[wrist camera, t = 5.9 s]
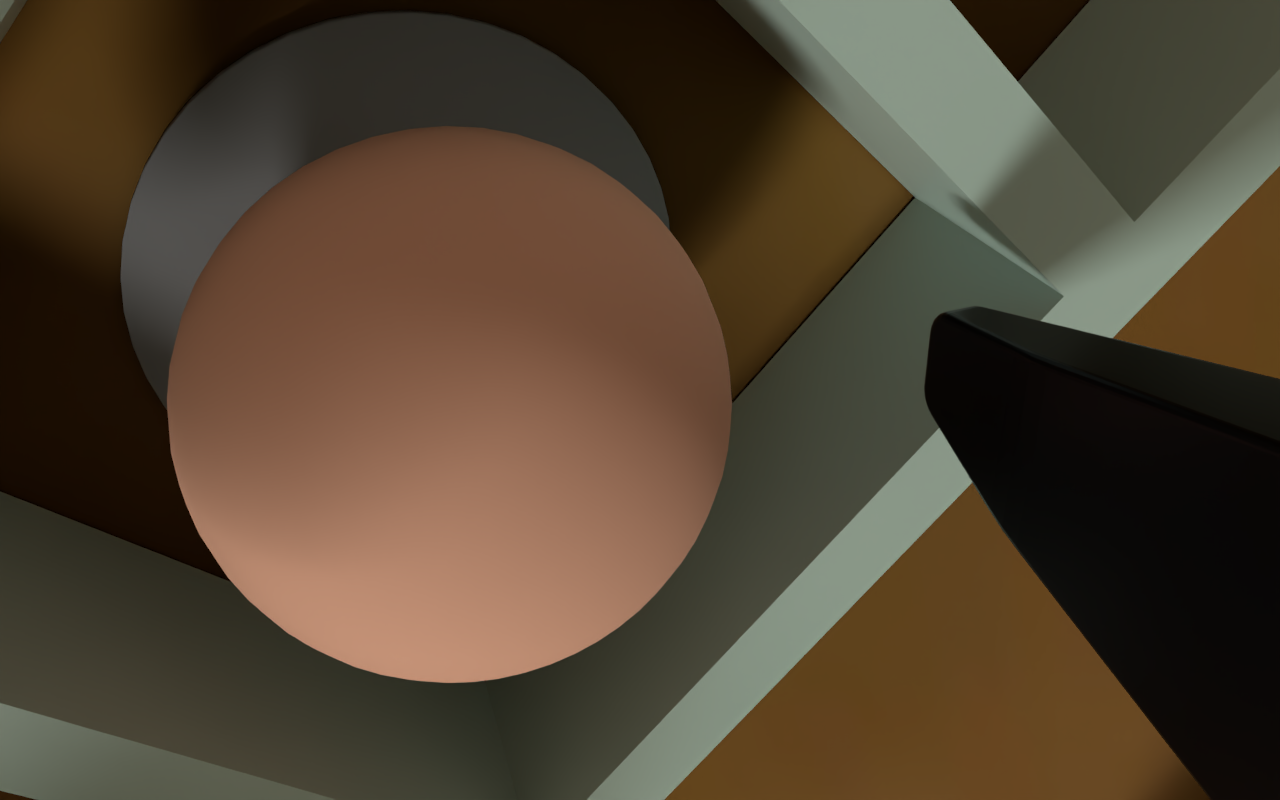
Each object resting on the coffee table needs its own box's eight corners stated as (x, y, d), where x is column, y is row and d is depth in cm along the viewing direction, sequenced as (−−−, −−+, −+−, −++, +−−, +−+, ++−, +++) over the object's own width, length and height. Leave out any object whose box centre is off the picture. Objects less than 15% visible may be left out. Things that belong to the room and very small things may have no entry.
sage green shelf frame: (1274, -110, 13) (1513, -75, 11) (326, 935, 17) (342, 1130, 15) (636, -1308, 7) (852, -1862, 5) (-584, 748, 11) (-809, 1026, 9)
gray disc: (761, 224, 13) (768, 231, 13) (465, 570, 14) (468, 580, 14) (342, -130, 10) (344, -126, 10) (6, 359, 11) (3, 369, 11)
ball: (643, 429, 14) (817, 711, 10) (242, 520, 13) (254, 884, 9) (620, 34, 11) (845, 198, 7) (110, 101, 10) (38, 344, 6)
